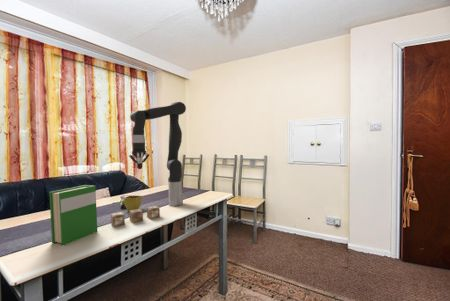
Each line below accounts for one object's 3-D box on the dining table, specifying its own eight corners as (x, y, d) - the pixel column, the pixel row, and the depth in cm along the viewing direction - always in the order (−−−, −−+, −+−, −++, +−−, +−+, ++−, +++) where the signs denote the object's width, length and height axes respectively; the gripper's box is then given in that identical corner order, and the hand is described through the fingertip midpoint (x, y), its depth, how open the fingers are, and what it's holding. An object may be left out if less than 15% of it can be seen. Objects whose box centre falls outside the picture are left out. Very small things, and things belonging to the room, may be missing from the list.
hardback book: (62, 245, 102) (60, 193, 101) (51, 243, 105) (49, 192, 104) (97, 231, 119) (95, 185, 118) (87, 229, 121) (85, 185, 120)
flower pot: (142, 208, 160) (142, 195, 159) (136, 211, 151) (136, 198, 151) (130, 208, 161) (130, 195, 160) (124, 211, 152) (123, 198, 152)
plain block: (140, 218, 138) (140, 208, 138) (143, 221, 133) (142, 210, 133) (129, 220, 135) (129, 210, 134) (132, 223, 130) (131, 212, 129)
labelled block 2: (156, 215, 144) (156, 205, 144) (159, 217, 139) (159, 207, 138) (146, 217, 140) (146, 207, 140) (150, 219, 135) (149, 209, 135)
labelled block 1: (122, 221, 132) (122, 211, 132) (124, 224, 127) (124, 214, 127) (111, 224, 129) (110, 213, 129) (113, 227, 124) (112, 216, 124)
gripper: (147, 142, 152) (148, 167, 153) (126, 142, 145) (127, 169, 145) (151, 141, 146) (151, 168, 147) (129, 142, 139) (130, 170, 139)
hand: (139, 169), depth 146 cm, fingers closed
